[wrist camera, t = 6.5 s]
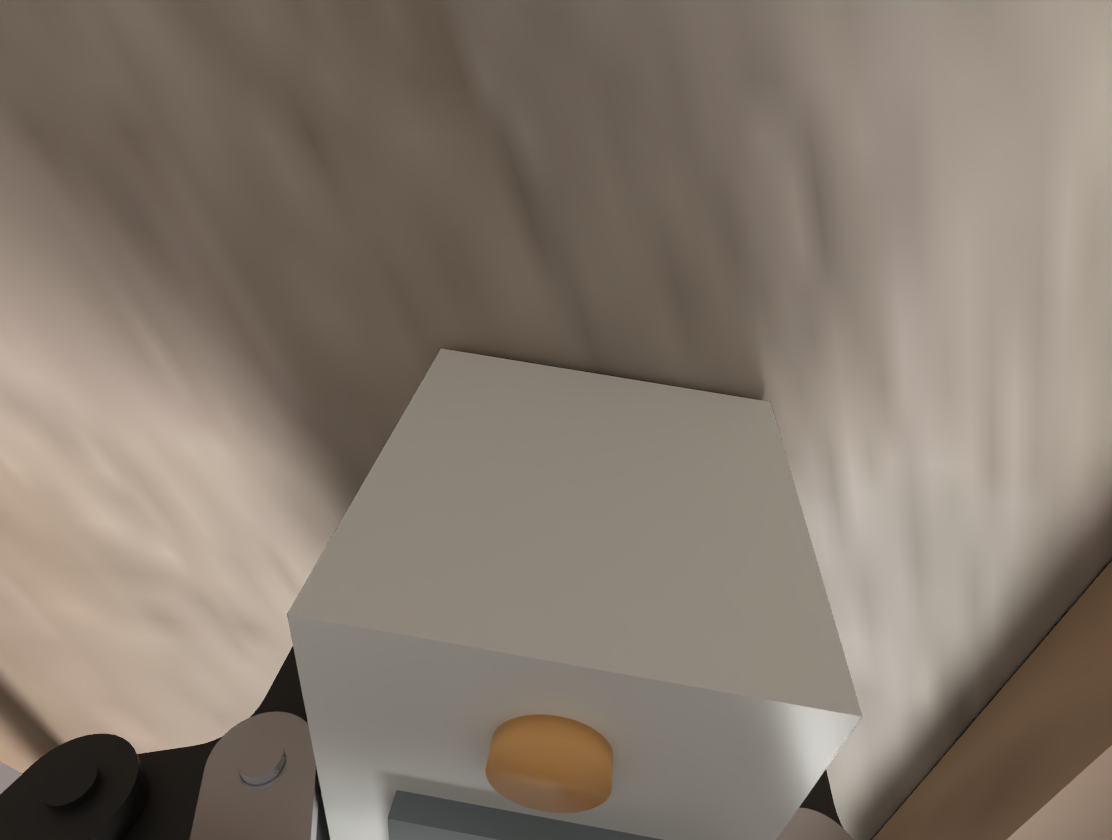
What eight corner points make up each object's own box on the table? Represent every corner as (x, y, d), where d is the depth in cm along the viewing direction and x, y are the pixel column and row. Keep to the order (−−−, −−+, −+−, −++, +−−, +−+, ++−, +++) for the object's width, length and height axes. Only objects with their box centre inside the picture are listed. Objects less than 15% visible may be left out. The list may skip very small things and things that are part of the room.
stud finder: (770, 401, 10) (872, 751, 5) (659, 704, 14) (663, 1027, 10) (441, 348, 10) (270, 643, 5) (436, 665, 14) (342, 963, 10)
